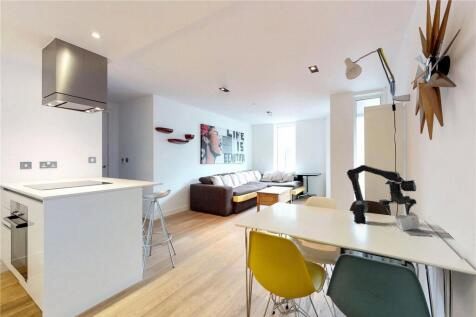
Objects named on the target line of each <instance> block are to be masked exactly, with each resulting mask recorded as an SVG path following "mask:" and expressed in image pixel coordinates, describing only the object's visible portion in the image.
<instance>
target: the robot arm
mask: <svg viewBox="0 0 476 317" xmlns="http://www.w3.org/2000/svg"><path fill="white" fill-rule="evenodd" d="M363 172H367V173H370V174H374V175H376V176H377V175H378V176H380V177H382V178H384V179H386V180H387V181H386V182H385V183H384V184H385V185H388V186H389V194H390V199H389V200H388V199H379V201H378V203H379V205H381V206H382V207H384V208H385V210H386V211H387V213H388V214H389V216H392V212H391V205H390V204H396V205H400V206H401V205H404V207H405V213H406V214H407V215H408V214H409V212H411V208H412V207H413V206H415V205H417V200H416V199H415V198H412V197H411V196H409V195H405V196H404V195H403V192H416V191H417V185H416V183H415V180H414V179H413V180H412V179H411V180H404V178H403V177H401V174H400V172H397V171H393V170H384V169H380V168H377V167H372V166H369V165H365V164H361V165H360V166H359V165H358V167H357V166H356V167H355V168H351V169H348V171H346V175H347V177H348V179H349V180H350V182H351V185H352V189H353V193H354V197H355V209H354V210H352V213H353V222H354V223H355V224H361V225H362V224H365V225H366V224H367V222H366V221H367V220H366V219H367V218H366V216H365V214H366V212H368V211H369V205H368V201H365V200H364V197H363V193H362V190H361V186H360V182H359V179H360V178H359V177H360V174H361V173H363ZM402 191H403V192H402Z"/></svg>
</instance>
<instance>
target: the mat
mask: <svg viewBox="0 0 476 317" xmlns="http://www.w3.org/2000/svg"><path fill="white" fill-rule="evenodd" d="M395 227H396V228H398V229H400V228H399V227H398V225H396V226H395ZM400 230H402V229H400ZM402 231H403V230H402ZM403 232H404V233H406V234H407V235H409V236H414V237H416V236H417V237H427V236H428V237H430V238H433V236H432V235H431V234H429V233H427V232H426V231H424V230H422V229H420V228H419V227H416V228H412V229H409V230H405V231H403Z"/></svg>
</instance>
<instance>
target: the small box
mask: <svg viewBox="0 0 476 317" xmlns="http://www.w3.org/2000/svg"><path fill="white" fill-rule="evenodd" d="M394 218H395V222H396V224H397V226H398V227H399V228H398V227H397V228H398V229H400V230H401V229H402V231H403V232H404V231H405V230H409V229H412V228H416V227H417V228H419V227H421V223H420V220H419V216H418V214H416V213H415V212H413V211H409V214H408V215H407V214H406V212H405V213H402V214H398V215H395V216H394Z"/></svg>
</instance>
